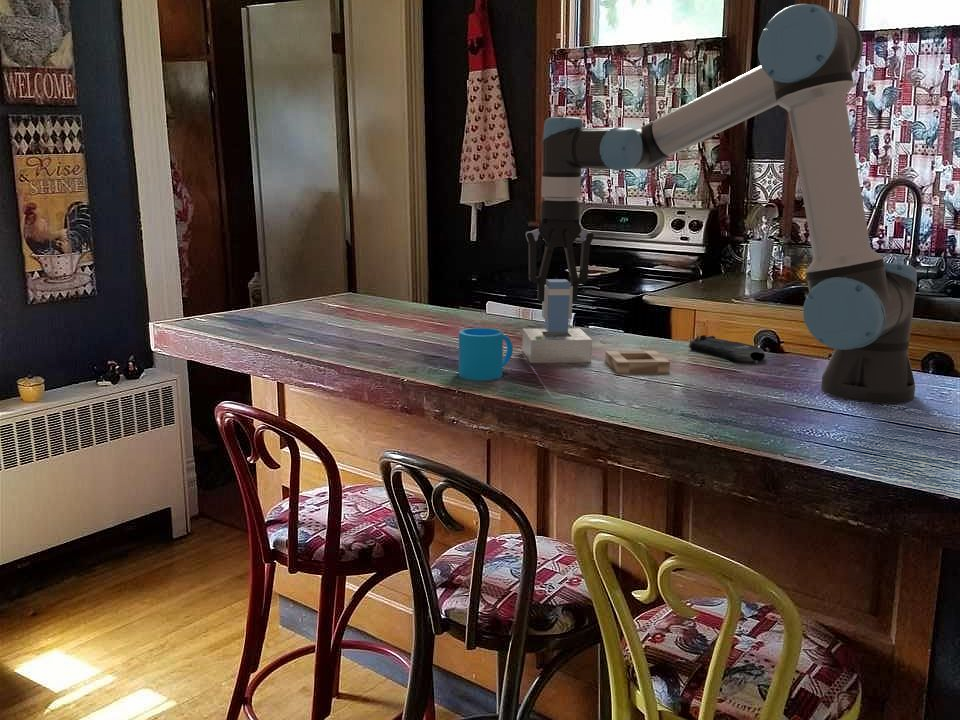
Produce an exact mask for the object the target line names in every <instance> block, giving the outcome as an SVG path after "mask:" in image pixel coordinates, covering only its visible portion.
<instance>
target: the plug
mask: <svg viewBox="0 0 960 720" xmlns="http://www.w3.org/2000/svg"><path fill="white" fill-rule="evenodd" d="M545 284H547V285H548V286H549V293H548V295H549V297H548V319H544V329H546V330H547V331H548V332H568V328H569V319H568V317H569V295H570V289H569V288H570V285H571V282H570V280H568V279H565V278H563V279H561V278H560V279H559V278H554V279H553V278H552V279H551V278H549V279H548V278H546V282H545Z"/></svg>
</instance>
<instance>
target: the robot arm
mask: <svg viewBox="0 0 960 720" xmlns="http://www.w3.org/2000/svg"><path fill="white" fill-rule="evenodd" d="M863 46H864V44H863V36H862V33H861V32H860V30H859V27H858V26H857V24H856V23H854V21H853V20H852V19H850V18H849V17H847V16H846V15H843V14H841V13H838V12H834V11H831V10H829V9H827V7H825V6H822V5H819V4H814V3H810V4H808V3H798V4H797V3H796V4H793V5H789V6H788V7H784V8H783V9H782V10H780V11H778V12H777V13H776V14H775V15H774V16H772V17H771V19H770V20H768V23H766V25H765V27H764V29H763V30H762V32H761V35H760V38H759V40H758V45H757V56H758V60H759V63H760V65H759V66H757V67H755V68H753V69H751V70H749V71H747V72H746V73H744V74H741V75H739V76H737V77H735V78H734V79H732V80H730V81H728V82H726V83H724V84H721V86H718V87H715V88H714V89H712V90H710V91H708V92H707V93H705V94H703V95H701V96H699V97H697V98H695V99H693V100H691V101H689V102H687V103H685V104H683V105H682V106H679V107H677V108H675V109H674V110H672V111H670V112H668V113H666V114H664V115H662V116H660V117H658V118H656V119H654V120H653V121H651V122H649V123H646V124H645V125H643V126H641V127H639V128H631V127H624V126H622V127H621V126H616V127H594V128H593V127H590V128H588V127H584V123H583V120H582V118H581V117H574V116H572V117H570V116H568V117H567V116H566V117H564V116H563V117H561V116H559V117H558V116H553V117H548V118H546V119H545V121H544V123H543V134H542V135H543V136H542V141H541V143H542V173H541V174H542V175H541V197H542V198H544V200H543V199H542V201H541V202H540V221H539V225H538V226H537V228H536V229H533V230H531V231H528V230H527V231H525V233H524V235H525V238H526V241H527V244H528V245H527V246H528V248H527V249H528V251H527V252H528V257H527V258H528V266H527V267H528V269H527V270H528V274H527V275H528V280H529V281H530V282H531V283H533V284H536V286H537V290H536V291H537V293H536V294H537V300H538V302H541V318H543V319H544V320H545V319H548V297H549V295H548V293H549V286H548V285H547V284H546V279H548V273H549V269H550V265H551V261H552V256H553V253H554V250H555V248H560V247H561V248H563V249H564V253H565V259H566V264H567V265H566V266H567V269H568V270H567V271H568V274H569V275H568V276H569V282H570V288H569V289H570V295H569V317H568V320H569V319H570V320H571V319H573V317H572V316H573V302H578V298H579V297H578V295H579V294H578V292H579V291H578V290H579V285H581V284H583V283H587V282H588V279H589V264H590V252H591V251H590V250H591V244H592V241H593V240H594V239H593V238H594V236H595V235H594V233H593V232H591V231H586V230H584V229H582V225H581V223H580V211H581V210H580V206H581V205H580V204H581V202H580V201H579V200H578V199H579V198H580V197H581V180H582V179H581V177H582V170H583V169H591V170H612V171H624V170H645V171H646V170H651V169H655V168H657V167H660V166H661V165H663V164H664V163H665V162H666V160H667V159H668V158H670V157H672V156H673V155H675V154H677V153H680V152H681V151H685V150H686V149H688V148H690V147H692V146H694V145H696V144H699V143H700V142H703V141H705V140H707V139H709V138H711V137H713V136H715V135H717V134H720V133H722V132H723V131H725V130H727V129H731V128H732V127H735V126H736V125H738V124H740V123H742V122H745V121H747V120H749V119H750V118H753V117H755V116H757V115H759V114H761V113H763V112H766V111H768V110H769V109H772V108H774V107H776V106H780V107H781V108H783V109H784V110H786V112H787V113H788V118H789V124H790V129H791V135H792V141H793V145H794V146H793V147H794V152H795V159H796V164H797V170H798V176H799V182H800V187H801V192H802V199H803V205H804V209H805V217H806V222H807V228H808V232H809V233H808V234H809V239H810V246H811V250H812V256H813V257H812V258H813V259H812V261H811V263H810V264H809V265H808V267H807V268H806V269H805V273H806V274H805V275H806V280H807V287H808V291H809V292H808V294H807V295H806V296H805V300H804V303H803V306H802V307H803V309H802V313H803V315H802V316H803V320H804V324H805V326H806V328H807V330H808V331H809V333H810V334H811V336H812V337H813V338H814V339H816V340H817V341H818V342H820V344H822V345H824V346H826V347H828V348H832V349H834V350H833V352H832V355H831V357H830V358H829V361H828V363H827V365H826V368H825V369H824V372H823V374H822V377H821V383H820V384H821V385H820V387H821V390H822V391H823V392H824V393H825V394H828V395H830V396H833V397H836V398H840V399H843V400H849V401H854V402H861V403H871V404H902V403H907V402H910V401H913V399H914V398H915V391H916V383H915V378H914V374H913V370H912V365H911V361H910V357H909V347H910V346H909V345H910V339H911V332H912V324H913V323H912V322H913V314H914V306H915V300H916V299H915V298H916V291H917V287H918V282H917V279H918V276H917V275H918V273H917V272H918V271H917V269H916V268H915V267H914V266H913V265H910V264H905V263H904V264H903V263H895V262H884V258H883V256H882V255H881V254H879V253H878V252H876V251H875V250H874V249H873V248H872V247H871V243H870V236H869V230H868V226H867V225H868V224H867V219H866V214H865V213H866V212H865V206H864V202H863V201H864V200H863V196H862V189H861V184H860V177H859V171H858V166H857V165H858V164H857V160H856V155H855V154H856V153H855V148H854V141H853V136H852V131H851V125H850V124H851V123H850V118H849V117H850V116H849V113H848V107H847V101H846V97H847V94H848V93H849V92H850V91H851V89H853V86H854V79H853V78H854V77H853V72H854V71H855V70H856V69H857V67H858V66H859V63H860V61H861V57H862V55H863V49H864V47H863ZM539 235H540V236H541V238H542V239H543V240H544V242H545V246H544V250H543V256H542V260H541V264H540V268H539V272H538V276H537V243H536V242H537V241H538V240H539ZM579 236H580V238H579V239H580V241H581V244H580V246H581V247H580V262H579V274H578V271H577V265H576V259H575V254H574V245H573V244H574V242H575V241H576V239H577V238H578V237H579ZM578 275H579V276H578Z"/></svg>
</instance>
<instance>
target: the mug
mask: <svg viewBox="0 0 960 720" xmlns="http://www.w3.org/2000/svg"><path fill="white" fill-rule="evenodd" d="M504 341H505V344H506V353H505V355H504V357H503V353H504V352H503V351H504V348H503V347H504ZM513 347H514V346H513V343H512V341H511V339H510V338H509V337H508V336H507V335H506V334H504V331H503V330H499V329H497V328H496V329H495V328H488V327H472V328H471V327H470V328H464V329H461V330H459V331H458V376H459V377H460V378H462V379H466V380H470V381H471V380H473V381H489V380H497V379H500V378H502V377H503V367H505V366H506V365H507V364H508V363H509V362H510V360H511V357H512V355H513Z"/></svg>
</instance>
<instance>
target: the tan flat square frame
mask: <svg viewBox="0 0 960 720" xmlns="http://www.w3.org/2000/svg"><path fill="white" fill-rule="evenodd" d="M604 357H605V358H604V359H605V360H604V362H606V364H607V365H608V366H609V367H610V368H611V369H613V371H615V373H617V374H628V373H629V374H642V373H645V374H652V373H654V374H656V373H659V374H660V373H663V374H664V373H670V371H671V370H670V369H671V368H670V367H671V362H670V361H669V360H668V359H667V358H666V357H665V356H663V355H661V354H660V353H659V352H657V351H656V350H606V351H605V354H604Z"/></svg>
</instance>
